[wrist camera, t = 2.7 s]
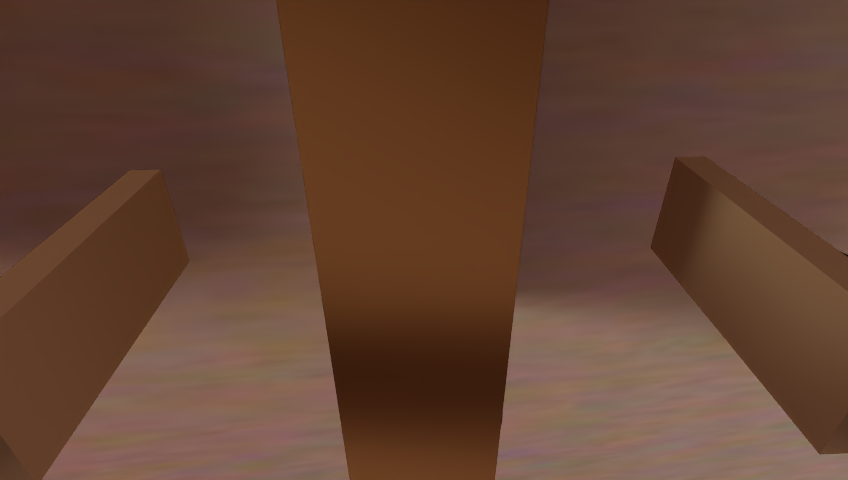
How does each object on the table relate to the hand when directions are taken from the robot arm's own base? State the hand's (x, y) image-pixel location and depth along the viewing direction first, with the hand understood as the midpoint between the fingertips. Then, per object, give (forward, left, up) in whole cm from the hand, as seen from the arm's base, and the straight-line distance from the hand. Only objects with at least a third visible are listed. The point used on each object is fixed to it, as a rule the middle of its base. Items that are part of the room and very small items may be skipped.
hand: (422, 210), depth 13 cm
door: (0, 0, -11) cm, 11 cm away
